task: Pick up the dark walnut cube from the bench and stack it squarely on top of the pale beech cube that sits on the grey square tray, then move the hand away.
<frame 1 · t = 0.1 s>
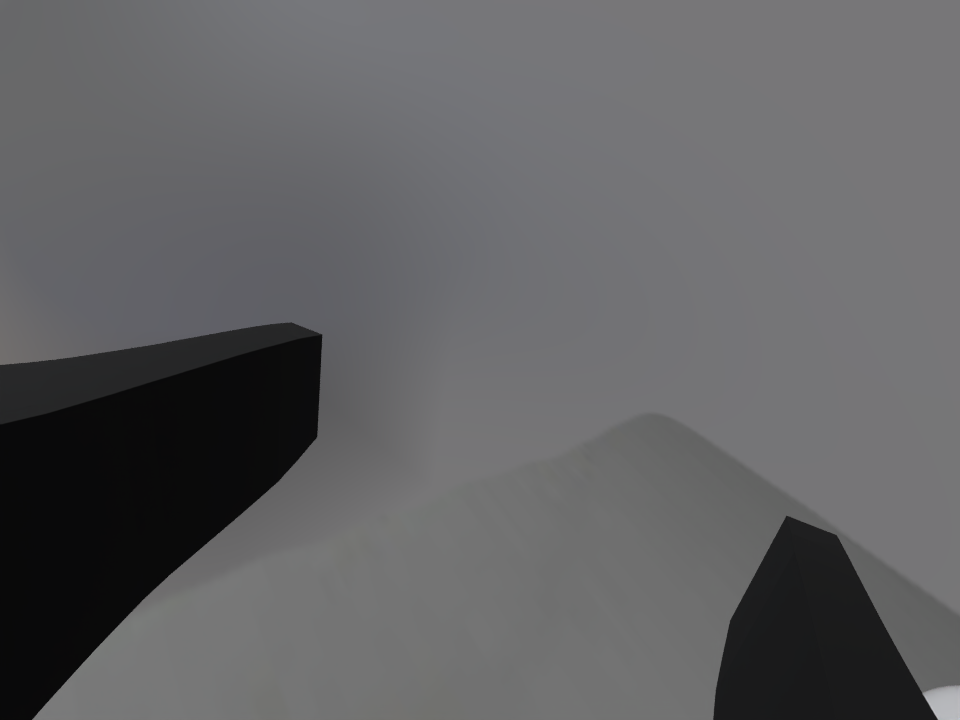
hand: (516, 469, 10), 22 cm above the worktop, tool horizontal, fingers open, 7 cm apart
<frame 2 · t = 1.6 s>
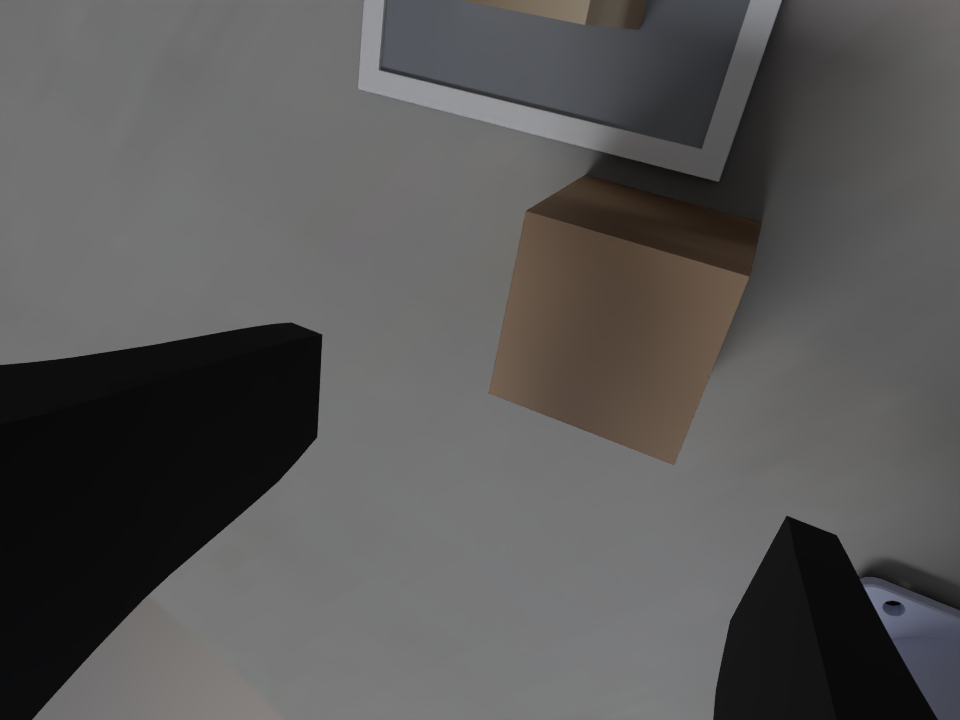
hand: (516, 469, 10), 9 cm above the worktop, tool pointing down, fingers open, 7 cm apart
walnut block: (644, 279, 17), on the worktop
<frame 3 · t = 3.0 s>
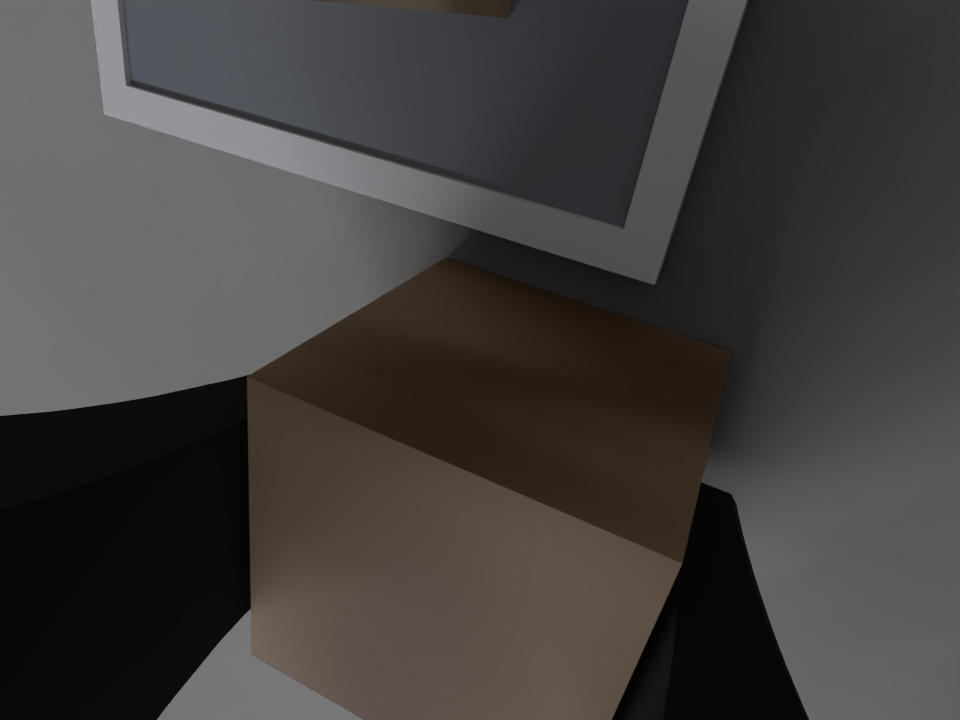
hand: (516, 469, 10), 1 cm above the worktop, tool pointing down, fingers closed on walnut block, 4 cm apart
walnut block: (546, 423, 11), on the worktop, touching gripper
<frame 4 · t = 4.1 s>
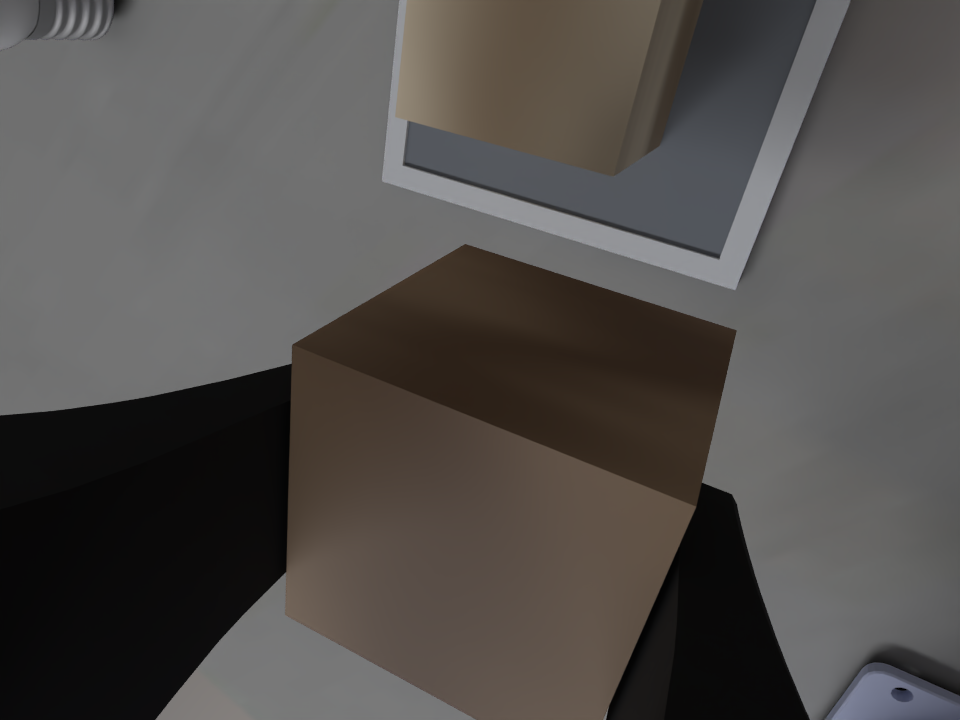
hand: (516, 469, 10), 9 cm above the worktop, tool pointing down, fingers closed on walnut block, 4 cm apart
beech block: (593, 20, 15), resting on grey square tray
grey square tray: (596, 21, 15), on the worktop
walnut block: (560, 402, 11), point 7 cm above the worktop, touching gripper
when the fingers open (7 cm above the worktop, at t = 5.3 s): walnut block stays where it is, resting on beech block.
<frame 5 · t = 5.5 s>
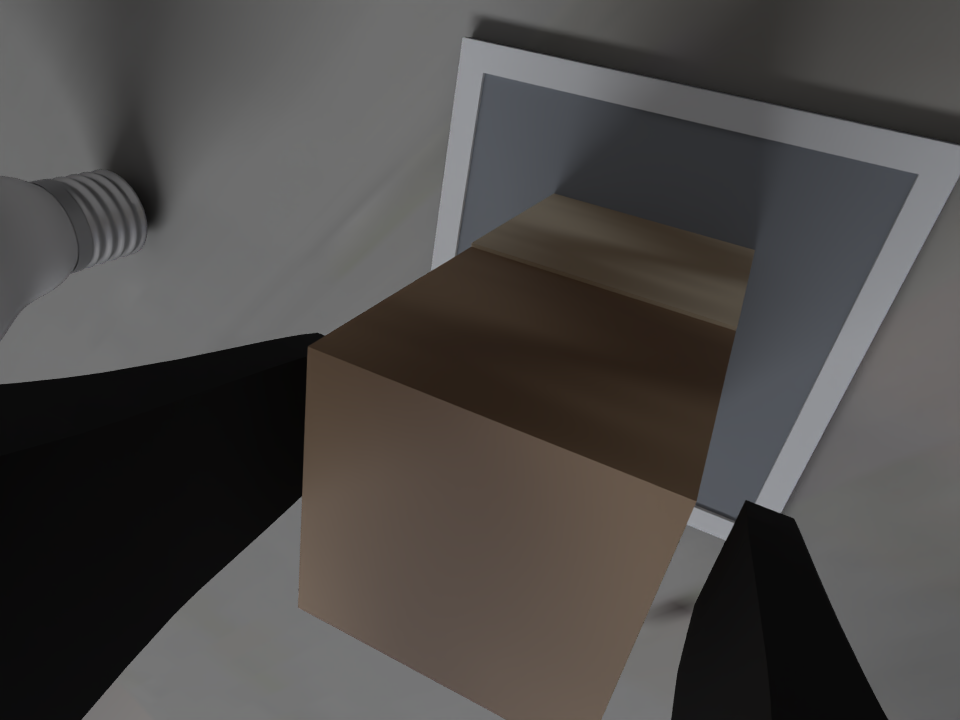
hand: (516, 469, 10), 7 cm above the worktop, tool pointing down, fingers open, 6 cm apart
beech block: (622, 312, 15), resting on grey square tray, touching walnut block
lightbulb: (138, 207, 21), on the worktop
grey square tray: (624, 308, 16), on the worktop
walnut block: (564, 400, 12), point 5 cm above the worktop, touching beech block
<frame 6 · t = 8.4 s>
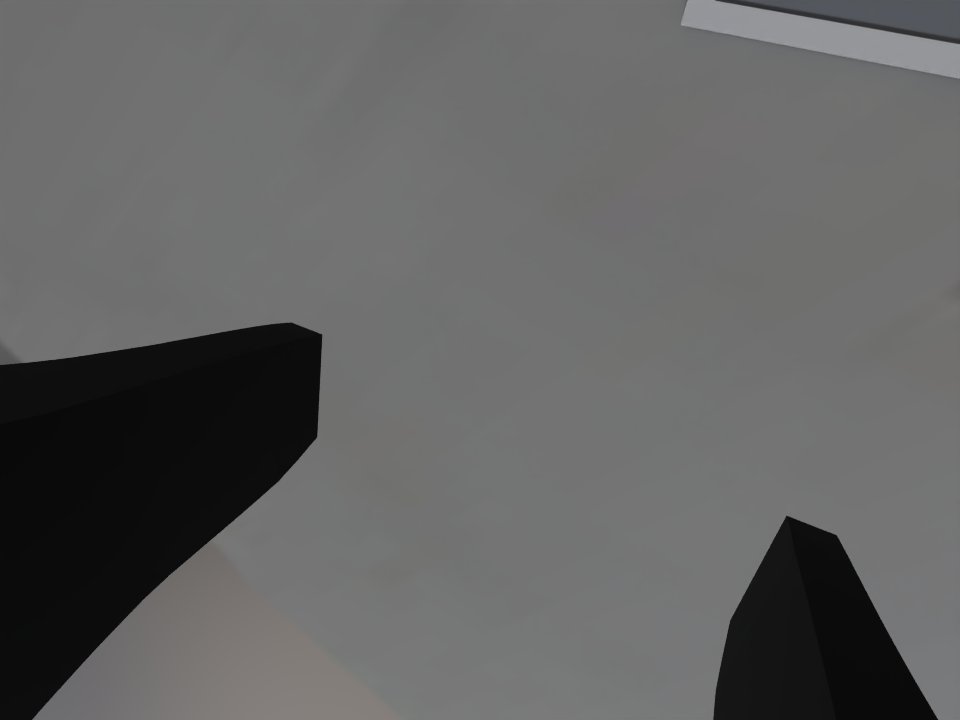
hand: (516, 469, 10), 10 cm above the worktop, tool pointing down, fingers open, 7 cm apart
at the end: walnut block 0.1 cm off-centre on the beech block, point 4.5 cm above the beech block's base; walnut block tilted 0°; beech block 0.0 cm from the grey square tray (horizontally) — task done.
